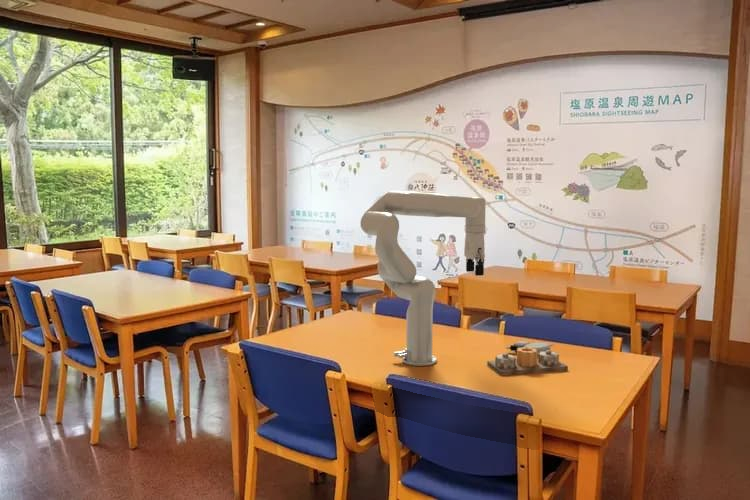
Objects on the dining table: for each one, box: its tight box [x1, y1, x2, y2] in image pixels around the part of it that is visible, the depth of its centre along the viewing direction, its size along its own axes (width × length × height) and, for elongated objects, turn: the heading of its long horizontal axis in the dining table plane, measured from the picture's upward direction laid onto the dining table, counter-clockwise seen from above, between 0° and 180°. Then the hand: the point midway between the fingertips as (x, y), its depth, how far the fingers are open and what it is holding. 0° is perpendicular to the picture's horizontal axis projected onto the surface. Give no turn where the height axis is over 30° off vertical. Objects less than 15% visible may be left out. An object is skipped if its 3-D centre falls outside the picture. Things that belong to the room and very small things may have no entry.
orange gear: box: [516, 347, 538, 367], centre depth 218 cm, size 7×7×5 cm
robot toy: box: [506, 340, 555, 357], centre depth 235 cm, size 12×4×15 cm
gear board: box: [486, 349, 569, 376], centre depth 218 cm, size 25×12×6 cm, turn 102°
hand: (474, 273), depth 238 cm, fingers open, 9 cm apart
